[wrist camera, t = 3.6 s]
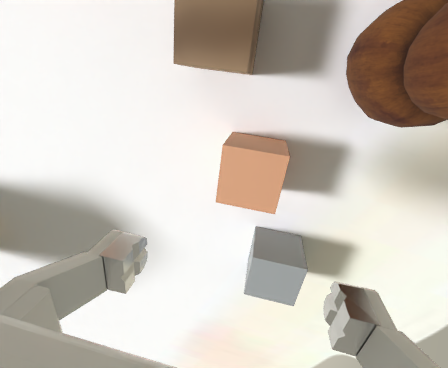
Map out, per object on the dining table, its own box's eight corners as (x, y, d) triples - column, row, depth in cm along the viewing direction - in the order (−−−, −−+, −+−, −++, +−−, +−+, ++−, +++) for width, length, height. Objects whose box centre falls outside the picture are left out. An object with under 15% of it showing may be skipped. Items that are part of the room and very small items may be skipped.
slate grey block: (255, 225, 25) (252, 257, 21) (300, 235, 25) (307, 269, 20) (248, 259, 27) (243, 293, 23) (289, 268, 27) (293, 306, 22)
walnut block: (199, -5, 17) (175, -34, 13) (263, 1, 17) (261, -28, 12) (195, 67, 20) (173, 63, 15) (252, 74, 19) (246, 72, 14)
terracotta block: (232, 131, 21) (222, 145, 17) (285, 140, 21) (289, 156, 16) (226, 179, 23) (215, 202, 19) (274, 188, 23) (275, 214, 18)
